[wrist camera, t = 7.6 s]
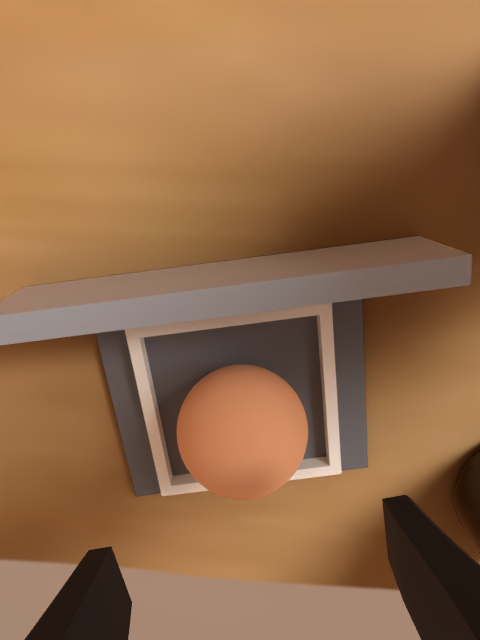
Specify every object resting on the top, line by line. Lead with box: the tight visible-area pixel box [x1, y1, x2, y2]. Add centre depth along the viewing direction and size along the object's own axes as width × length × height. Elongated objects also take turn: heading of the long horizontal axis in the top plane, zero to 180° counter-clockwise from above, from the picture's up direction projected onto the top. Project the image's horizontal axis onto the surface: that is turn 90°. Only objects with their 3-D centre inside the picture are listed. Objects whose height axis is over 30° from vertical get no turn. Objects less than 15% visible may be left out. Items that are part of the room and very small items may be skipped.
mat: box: [96, 299, 368, 496], centre depth 19 cm, size 11×9×1 cm
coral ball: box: [177, 364, 308, 500], centre depth 17 cm, size 5×5×5 cm
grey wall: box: [0, 236, 472, 345], centre depth 16 cm, size 16×1×4 cm, turn 97°
